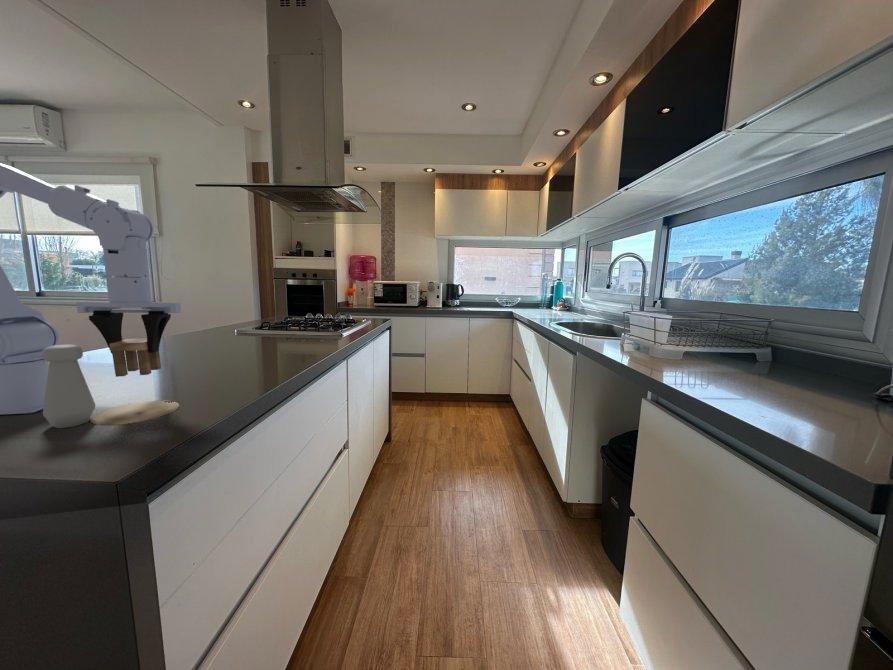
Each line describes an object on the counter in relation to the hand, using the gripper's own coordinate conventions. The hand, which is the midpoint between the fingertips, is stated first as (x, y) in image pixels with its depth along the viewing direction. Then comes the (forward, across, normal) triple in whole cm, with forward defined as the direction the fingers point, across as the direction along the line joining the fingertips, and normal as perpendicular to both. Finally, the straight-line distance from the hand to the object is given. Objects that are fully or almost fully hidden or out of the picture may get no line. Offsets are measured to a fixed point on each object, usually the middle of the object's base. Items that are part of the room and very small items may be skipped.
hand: (135, 352), depth 64 cm
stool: (+4, 0, 0) cm, 4 cm away
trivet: (+11, +1, -3) cm, 11 cm away
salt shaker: (+11, -6, -7) cm, 14 cm away
